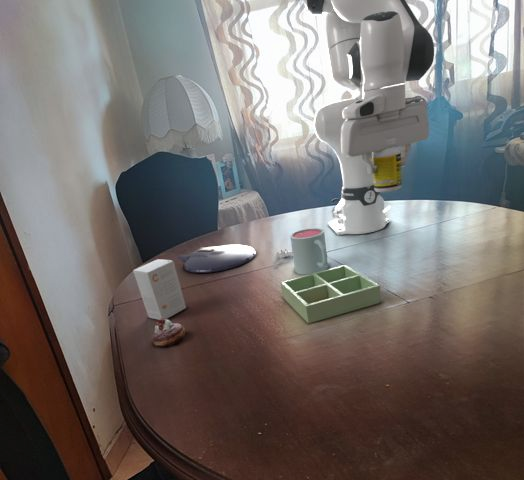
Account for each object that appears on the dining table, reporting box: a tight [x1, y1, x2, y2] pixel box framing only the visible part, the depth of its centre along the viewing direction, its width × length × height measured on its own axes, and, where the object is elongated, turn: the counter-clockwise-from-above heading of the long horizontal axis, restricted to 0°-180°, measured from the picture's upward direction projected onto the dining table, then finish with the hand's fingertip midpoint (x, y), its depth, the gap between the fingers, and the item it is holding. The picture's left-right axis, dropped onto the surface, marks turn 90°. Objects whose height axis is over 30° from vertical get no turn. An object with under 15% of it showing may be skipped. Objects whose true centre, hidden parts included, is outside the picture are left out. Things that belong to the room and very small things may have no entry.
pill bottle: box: [372, 138, 403, 193], centre depth 105 cm, size 6×6×11 cm
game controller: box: [275, 248, 293, 266], centre depth 139 cm, size 6×12×3 cm, turn 176°
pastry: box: [152, 317, 186, 347], centre depth 104 cm, size 8×8×5 cm
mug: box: [289, 227, 329, 275], centre depth 125 cm, size 14×9×10 cm
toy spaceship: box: [177, 244, 257, 274], centre depth 152 cm, size 28×24×3 cm
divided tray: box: [280, 264, 382, 324], centre depth 108 cm, size 17×17×4 cm
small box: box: [132, 258, 187, 321], centre depth 116 cm, size 8×6×13 cm
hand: (387, 170), depth 106 cm, fingers closed on pill bottle, 6 cm apart
